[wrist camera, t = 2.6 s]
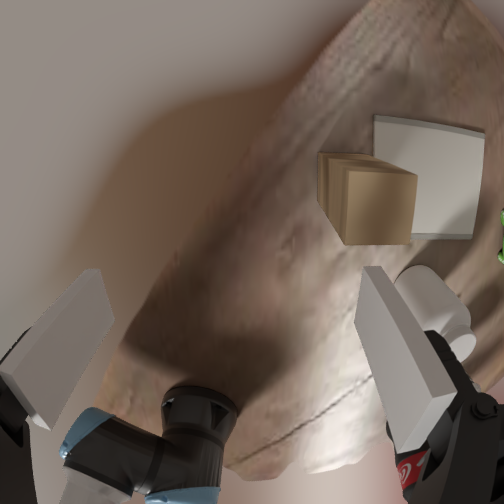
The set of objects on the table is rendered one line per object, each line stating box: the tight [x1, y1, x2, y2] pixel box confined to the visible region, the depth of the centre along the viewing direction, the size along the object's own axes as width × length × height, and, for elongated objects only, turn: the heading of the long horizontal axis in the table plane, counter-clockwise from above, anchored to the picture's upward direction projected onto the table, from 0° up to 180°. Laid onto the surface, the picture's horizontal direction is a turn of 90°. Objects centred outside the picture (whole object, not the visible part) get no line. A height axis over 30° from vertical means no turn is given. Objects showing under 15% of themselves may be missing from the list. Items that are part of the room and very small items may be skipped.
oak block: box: [317, 152, 418, 245], centre depth 29 cm, size 6×6×14 cm
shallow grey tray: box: [373, 115, 485, 239], centre depth 34 cm, size 18×16×1 cm
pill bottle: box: [394, 265, 476, 362], centre depth 34 cm, size 8×8×15 cm
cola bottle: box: [386, 421, 430, 503], centre depth 41 cm, size 8×8×30 cm
